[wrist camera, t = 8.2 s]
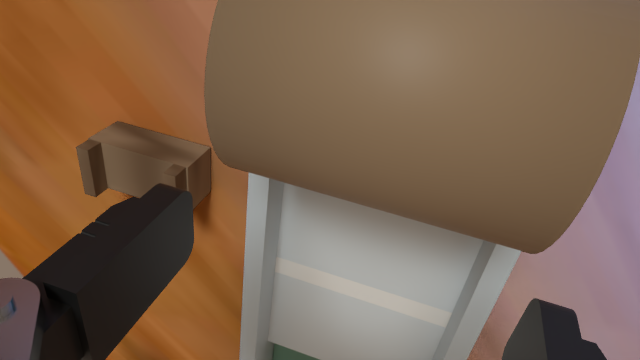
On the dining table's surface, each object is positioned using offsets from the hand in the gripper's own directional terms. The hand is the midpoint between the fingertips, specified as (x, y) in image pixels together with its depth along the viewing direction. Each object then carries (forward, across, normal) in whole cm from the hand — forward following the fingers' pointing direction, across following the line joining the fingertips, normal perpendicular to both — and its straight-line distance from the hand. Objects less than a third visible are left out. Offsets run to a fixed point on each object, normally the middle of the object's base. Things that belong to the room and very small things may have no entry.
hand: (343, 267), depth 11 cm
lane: (+12, 0, +9) cm, 15 cm away
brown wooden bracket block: (+12, +13, +7) cm, 19 cm away
